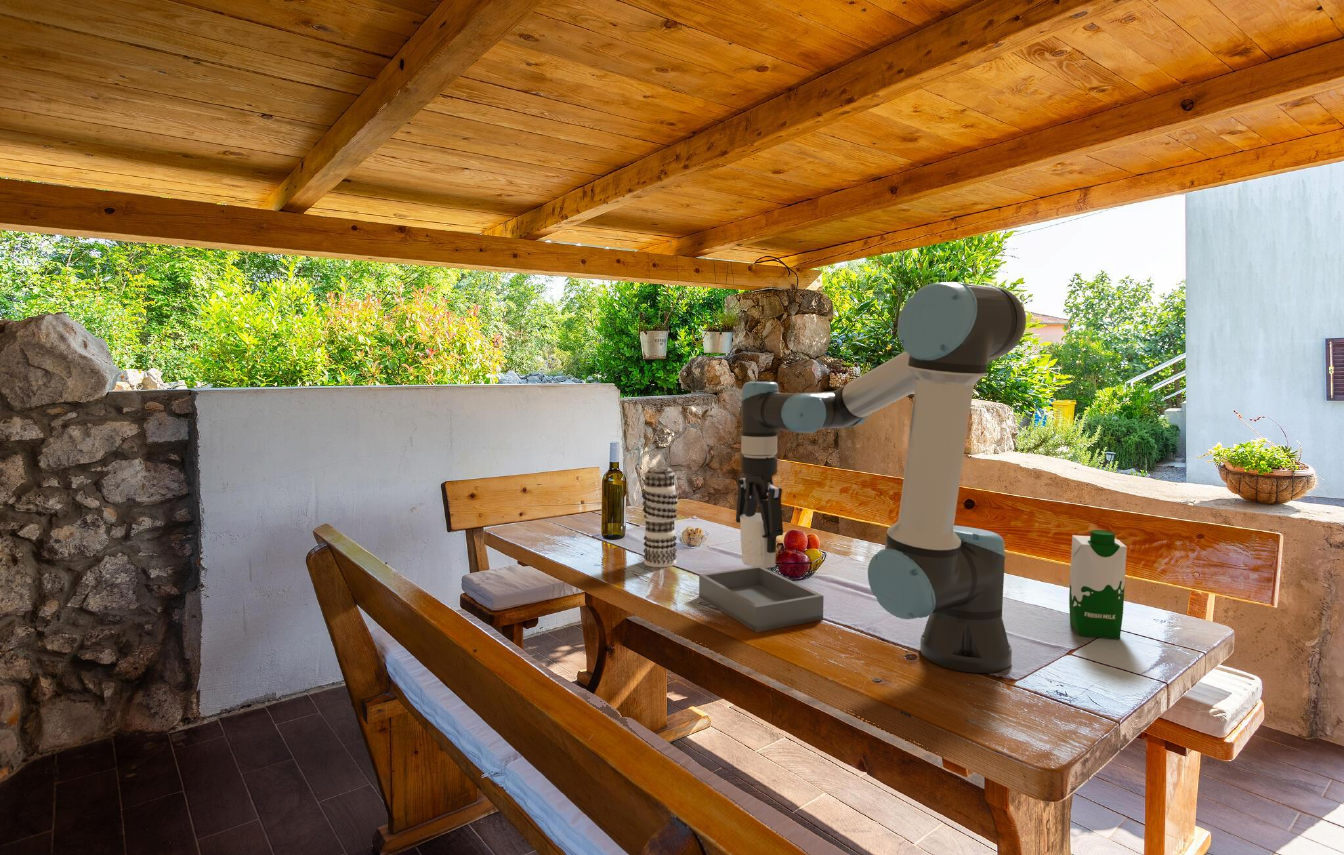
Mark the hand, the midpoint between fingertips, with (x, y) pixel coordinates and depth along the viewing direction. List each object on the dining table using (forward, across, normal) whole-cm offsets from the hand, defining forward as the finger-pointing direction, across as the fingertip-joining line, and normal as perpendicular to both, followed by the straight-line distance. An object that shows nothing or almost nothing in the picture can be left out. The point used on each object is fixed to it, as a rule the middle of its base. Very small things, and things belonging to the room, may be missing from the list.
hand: (758, 561), depth 157 cm
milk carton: (+10, -40, -52) cm, 66 cm away
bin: (+10, 0, 0) cm, 10 cm away
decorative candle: (+10, +41, +4) cm, 42 cm away
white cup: (0, 0, 0) cm, 0 cm away
